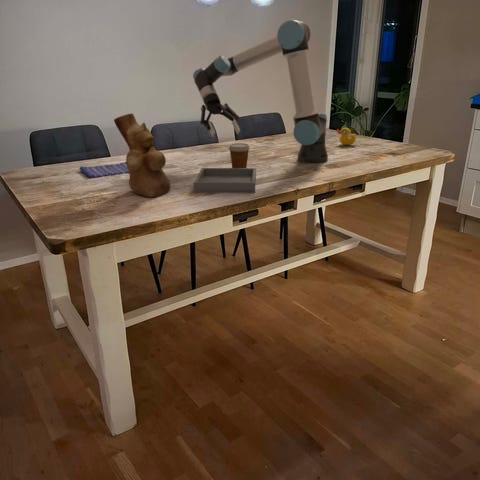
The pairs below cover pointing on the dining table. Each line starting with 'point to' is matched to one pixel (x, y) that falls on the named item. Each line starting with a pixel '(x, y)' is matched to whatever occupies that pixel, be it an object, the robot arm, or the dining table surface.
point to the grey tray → (226, 180)
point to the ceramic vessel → (143, 158)
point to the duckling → (344, 138)
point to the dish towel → (105, 170)
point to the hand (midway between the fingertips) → (226, 133)
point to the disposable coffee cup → (239, 155)
